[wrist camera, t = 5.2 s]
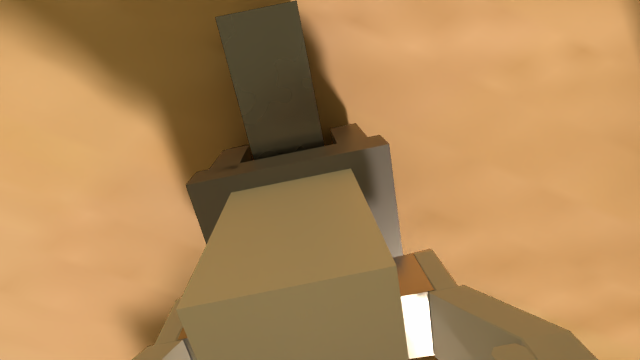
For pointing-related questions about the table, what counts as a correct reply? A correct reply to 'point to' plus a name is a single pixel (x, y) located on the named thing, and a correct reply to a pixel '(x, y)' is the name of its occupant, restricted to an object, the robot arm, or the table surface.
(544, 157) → the table surface
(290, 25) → the rail
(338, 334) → the cream box
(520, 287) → the table surface
